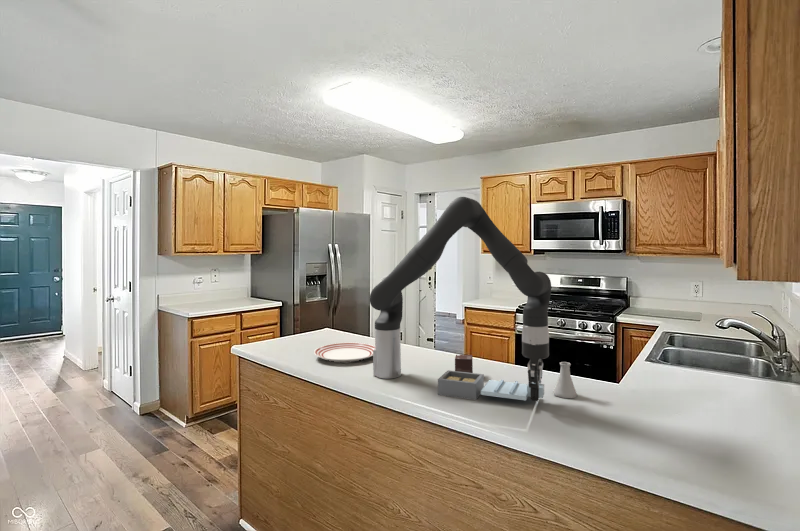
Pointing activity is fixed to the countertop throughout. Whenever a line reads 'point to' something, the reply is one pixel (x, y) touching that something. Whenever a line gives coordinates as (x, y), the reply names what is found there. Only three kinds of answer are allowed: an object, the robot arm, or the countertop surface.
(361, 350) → the dinner plate
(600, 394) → the countertop surface
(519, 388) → the lid
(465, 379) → the brass block
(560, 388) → the flask
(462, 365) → the box
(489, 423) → the countertop surface
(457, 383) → the tub
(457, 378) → the brass block
